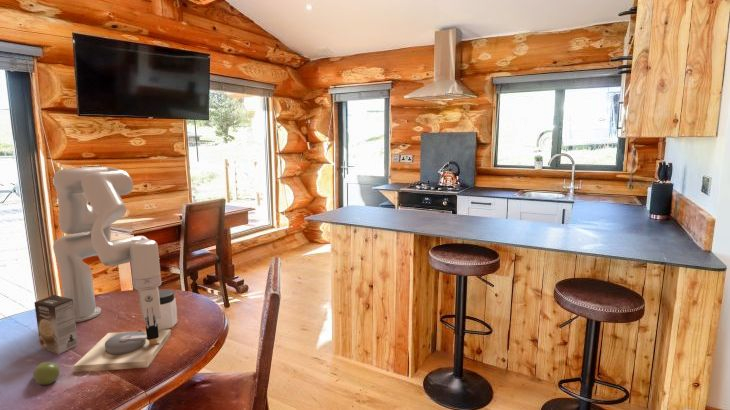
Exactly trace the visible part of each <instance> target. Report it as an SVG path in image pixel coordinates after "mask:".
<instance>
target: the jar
mask: <svg viewBox="0 0 730 410" xmlns="http://www.w3.org/2000/svg"><path fill="white" fill-rule="evenodd" d="M158 290H159V297H160V308H161V318H160V319H159V318H158V319H157V318H156V323H157V324H158V330H170V329H172V328H174V327H175V325H176V324H178V309H177V308H178V307H177V298H176V297H175V291H174V290H172V289H158Z"/></svg>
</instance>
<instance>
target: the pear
mask: <svg viewBox="0 0 730 410" xmlns="http://www.w3.org/2000/svg"><path fill="white" fill-rule="evenodd" d="M60 373H61V371H60V366H59V365H58V364H57V363H56V362H49V361H43V362H40V363H38V365H37V366H36V367H35V369H34V371H33V378H34V380H35V381H36V383H37V384H39V385H44V386H46V385H51V384H52V383H53V382H55V381H56V380H57V379H58V378H59V376H60Z"/></svg>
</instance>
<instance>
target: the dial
mask: <svg viewBox="0 0 730 410" xmlns="http://www.w3.org/2000/svg"><path fill="white" fill-rule="evenodd" d="M124 332H125V333H121V334H118V335H115V336H113V337H111V338H110V339H108V340H107V341H106V342H105V350H106V352H107V353H108V354H112V355H120V354H126V353H130V352H133V351H135V350H137V349H139V348H141V347H142V346H144V344H145V343H146V339H147V335H145V334H144V333H143V332H139V331H138V330H137V331H136V330H134V331H133V330H132V331H124ZM156 343H158V340H157V338H155V339H151V340H149V344H150V345H154V344H156Z"/></svg>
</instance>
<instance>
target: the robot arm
mask: <svg viewBox="0 0 730 410" xmlns="http://www.w3.org/2000/svg"><path fill="white" fill-rule="evenodd" d="M52 181H53V186H54V188H55V191H56V193H57V197H58V225H59V226H58V227H59V229H60V231H61V232H62V233H64V234H65V235H63V236H60V237H59V238H57V239H56V240H55V241H54V243H53V248H52V249H53V253H54V255H55V258H56V261H57V265H58V270H59V277H60V285H61V291H62V297H66V298H70V299H73V306H74V315H75V323H80V322H85V321H88V320H91V319H94V318H96V317H98V316H99V315H101V313H102V309H101V307H99V306H96V305H97V304H96V299H95V290H94V289H95V288H94V280H93V273H92V268H91V267H90V265H89V264H87V263H86V262H84V261H83V260H84V259H87V258H91V257H94V256H95V257H96V256H97V257H98V259H99V261H100V262H101V263H102V264H103V265H105V266H107V267H115V266H120V265H124V264H128V263H130V267H131V268H130V269H131V276H132V277H131V280H132V286H133V289H134V290H136V291H138V299H139V306H140V307H139V308H140V311H141V316H142V320H143V322H146V323H145V324H146V326H145V331H146V334H147V340H151V339H155V338H158V337H159V334H158V324H157V323H156V318H157V319H158V318H159V319H160V318H161V308H160V297H159V290H160V289H159V287H160V286H161V285H162V274H161V265H160V255H159V253H160V252H159V244H158V242H157V241H155V240H153V239H149V238H147V237H146V236H144V235H135V236H134V235H133V236H130V237H124V238H119V239H115V240H111V233H112V232H111V231H112V224H113V223H114V224H115V222H117V221H119V220H120V219H121V218H123V217H124V216H125V214H126V213H127V206H126V204H125V202H124V200H123V199H122V196H126V195H128V194H129V195H130V194H131V193H132V191H133V190H134V182H133V179H132V177H131V176H130V174H129V173H128V172H127V171H125V170H123V169H119V168H115V167H111V166H94V167H93V166H91V167H74V168H73V167H72V168H62V169H59V170H57V171H56V172H55V173H54V175H53V180H52ZM89 204H90V205H89Z"/></svg>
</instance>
